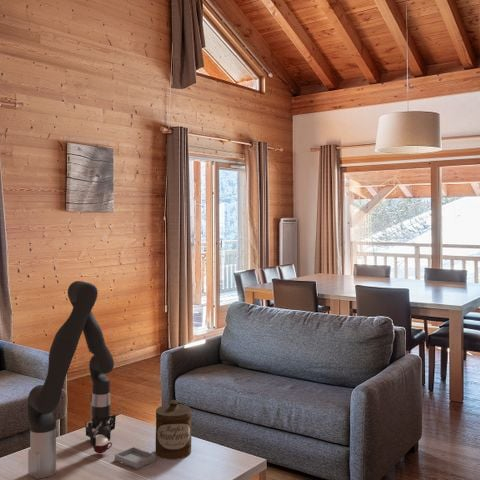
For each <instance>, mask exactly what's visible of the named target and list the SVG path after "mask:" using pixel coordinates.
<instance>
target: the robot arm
mask: <svg viewBox="0 0 480 480" xmlns="http://www.w3.org/2000/svg"><path fill="white" fill-rule="evenodd" d="M98 291H99V290H98V289H97V286H96V285H95V284H93V283H92V282H91V283H90V282H86V281H82V280H75V281H73V282H72V283H70V285H69V286H68V289H67V297H68V299H69V302H70V304H71V306H72V310H71V312H70V315H69V316H68V318H67V319H66V320H65V322H64V323H63V324H62V325H61V326H60V327H59V329H58V330H57V332H56V333H55V336H54V338H53V339H52V343H51V346H50V348H49V353H48V364H47V366H48V368H47V369H48V370H47V374H46V378H45V380H44V383H43V384H40V385H36V386H34V387H33V388H31V390H30V391H29V393H28V397H27V417H28V418H27V419H28V423H29V427H30V428H29V429H30V430H29V431H30V435H29V436H30V439H29V440H30V442H29V443H30V445H29V447H30V448H29V449H28V452H27V455H28V456H27V459H28V461H27V467H28V468H27V469H28V470H27V471H28V473H27V474H28V475H29V476H30V477H32V478H34V479H36V480H39V479H45V478H49V477H51V476H53V475H55V474H56V472H57V421H56V419H55V416H54V414H53V412H54V411H55V410H56V408H57V407H58V405H59V403H60V399H61V396H62V391H63V388H64V383H65V380H66V378H67V374H68V372H69V370H70V366H71V365H72V364H71V363H72V360H73V358H74V356H75V353H76V350H77V347H78V345H79V342H80V340H81V336H82V333H83V335H84V340H85V342H86V346H87V349H88V351H89V353H91V354H92V356H91V358H90V359H89V363H88V364H89V365H88V367H89V369H88V370H89V373H90V378H91V380H92V381H91V383H92V393H91V394H92V420H91V421H90V420H89V421H85V423H84V425H85V436H86V437H89V438H90V439H89V440H90V441H89V444H90V445H91V446H92V447H93V446H96V434H97V432H98V431H99V429H101V428H105V430H106V431H105V437H107V439H108V442H110V441H111V434H112V433H111V432H112V431H113V430H115V428H116V418H117V417H116V416H117V415H115V414H113V413H111V400H112V399H111V379H109V377H108V376H107V375H106V374H110V373H111V372H112V371H113V369H114V366H115V361H114V357H113V355H112V353H111V352H110V349H109V348H108V346H107V344H106V342H105V341H106V340H105V338H104V333H103V331H102V328H101V326H100V324H99V323H98V320H97V319H96V317H95V316H94V314H93V311H92V310H93V308H94V306H95V303H96V301H97V299H98ZM92 424H93V425H92ZM95 428H96V429H95ZM93 433H94V434H93Z"/></svg>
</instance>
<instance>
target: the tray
mask: <svg viewBox="0 0 480 480" xmlns="http://www.w3.org/2000/svg"><path fill="white" fill-rule="evenodd" d="M115 460H116V461H115ZM114 461H115V462H117V461H119V462H118V463H120V462H122V463H123V464H122V463H121V464H122V465H124V464H126V465H125V466H127V465H128V466H127V467H129V466H130V467H129V468H131V467H132V469H134V470H136V469H137V470H139V469H141V468H143V467H145V465H146V466H148V465H150V464H152V463H154V462H156V454H155V453H152V452H149V451H146V450H144V449H141V448H138V447H135V446H132V447H128V448H127V449H125V450H122V451H120V452H116V453H115V454H114ZM147 464H148V465H147ZM138 468H139V469H138Z"/></svg>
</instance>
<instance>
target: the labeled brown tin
mask: <svg viewBox="0 0 480 480" xmlns="http://www.w3.org/2000/svg"><path fill="white" fill-rule="evenodd" d="M191 453H192V408H191V407H190V406H189V405H185V404H181V403H178V401H177V400H176V399H172V400H170V401H169V403H168V404H163V405H161V406H158V407H157V408H156V409H155V456H157V457H159V458H160V459H164V460H180V459H182V458H183V459H184V458H186V457H188V456H189V455H190V454H191Z"/></svg>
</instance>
